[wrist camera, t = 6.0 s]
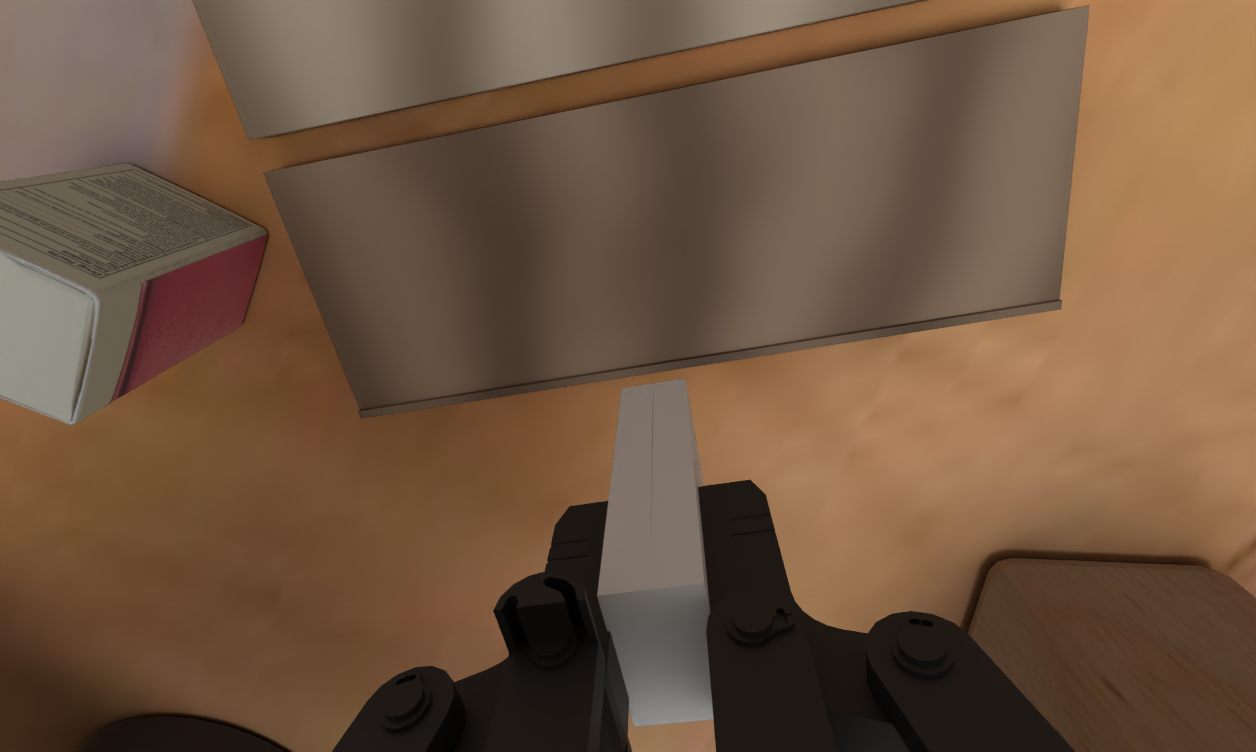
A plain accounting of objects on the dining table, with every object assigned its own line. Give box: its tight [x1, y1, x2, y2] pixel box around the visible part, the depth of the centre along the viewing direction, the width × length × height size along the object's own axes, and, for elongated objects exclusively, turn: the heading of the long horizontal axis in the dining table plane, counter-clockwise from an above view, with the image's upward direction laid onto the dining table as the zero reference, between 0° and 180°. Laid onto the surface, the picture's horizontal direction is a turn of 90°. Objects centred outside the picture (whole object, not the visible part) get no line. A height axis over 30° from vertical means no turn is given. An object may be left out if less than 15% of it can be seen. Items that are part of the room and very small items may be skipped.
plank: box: [263, 5, 1090, 419], centre depth 21 cm, size 25×9×1 cm, turn 101°
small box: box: [0, 164, 268, 425], centre depth 19 cm, size 5×4×8 cm
